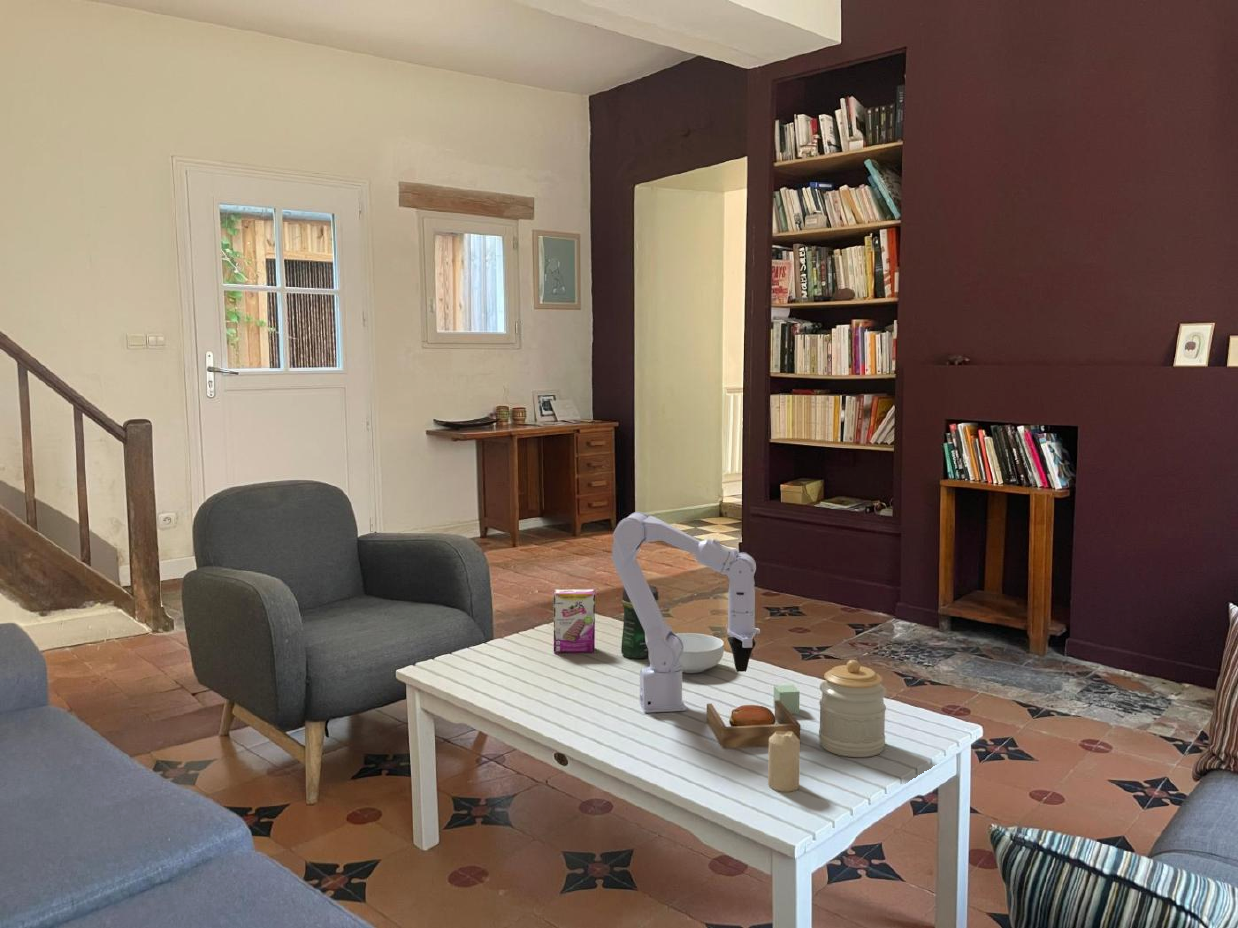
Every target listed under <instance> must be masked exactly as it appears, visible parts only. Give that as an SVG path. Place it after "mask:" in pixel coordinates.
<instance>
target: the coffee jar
mask: <svg viewBox="0 0 1238 928" xmlns="http://www.w3.org/2000/svg"><path fill="white" fill-rule="evenodd" d="M648 585H649V588H650V590H651V592H652V594H653V596H654V598H655V601H656V603H657V605H658V606H659V601H660V599H659V589H658V588H657V587H656V586H654V585H650V584H648ZM621 604H622V606H623V607H622V608H623V626H622V627H623V628H622V636H621V647H620V648H621V650H620V651H621V652H620V653H621V654H622V655H623V656H625V657H627V658H629V659H630V658H632V659H644V658H649V657H648V656H649V651H648V648H647V645H646V641H645V631H644V629H643V627H642V625H641V623H640V621H639V618H638V616H637V614H636V612H635V610H634V608H633V605H632V603H631V601H630V599H629V597H628V594H627V592H626V590H625V588H624V589H623V590H622V596H621Z"/></svg>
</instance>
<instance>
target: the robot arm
mask: <svg viewBox="0 0 1238 928" xmlns="http://www.w3.org/2000/svg"><path fill="white" fill-rule="evenodd" d="M612 536H613V537H612V538H613V543H612V553H611V561H612V564H613V567H614V568H615V570H616V573H617V575H618V577H619V580H620V581H621V584H622V586H623V588H624V589H625V590H626V592H627V594H628V597H629V599H630V601H631V603H632V605H633V608H634V610H635V612H636V614H637V616H638V618H639V621H640V623H641V625H642V627H643V629H644V631H645V641H646V645H647V648H648V651H649V656H648V657H647V658H648V662H649V666H648V667H643V668H640V671H639V703H640V705H641V708H642V710H643V712H644V713H645V714H647V713H666V712H686V711H687V710H688V709H687V706H686V705H685V703H684V702H683V672H682V664H681V662H680V660H679V657H680V656H681V654H682V652H683V642H682V640H681V639H680V638H679V637H678V636H677V635H676V634H677V633H675V631H674V630H673V628H672V626H671V625H670V624H669V623H668V622H666V620H665V618H664V616H663V613H662V612H661V610H660V608H659V604H658V605H657V603H656V601H655V598H654V596H653V594H652V592H651V590H650V588H649V585H650V584H648V581H647V579H646V576H645V575H644V573H643V570H642V568H641V566H640V564H639V562H638V560H637V557H638V554H639V552H640V549H641V546H642V544H643V543H644V542H645V543H646V544H647V543H652V542H659V541H661V542H664V543H666V544H668V545H671V546H673V547H676V548H678V549H681V550H682V551H685V552H688V553H690V554H692V555H693V556H694V557H695V559H696V560H695V561H696V562H697V563H698V564H700V565H702V566H705V567H706V568H709V569H711V570H713V571H715V572H717V573H719V574H721V575H726V576H727V578H728V580H729V587H728V608H727V609H728V611H727V612H728V613H727V615H728V620H727V621H728V622H727V623H728V625H727V626H728V627H727V629H726V630H727V631H726V632H727V634H728V635H729V636H730V637H727V638H726V639H727V641H728V643H729V646H730V649H731V652H732V658H733V663H734V667H735V670H736V673H737V672H738V673H739V672H740V673H741V672H743V673H744V672H747V669H748V667H749V662H750V657H751V654H752V652H753V649H754V648H755V647H756V641H755V639H754V637H755V635H757V634H760V633H761V630H760V628H758V627H756V625H755V622H756V621H755V620H756V619H755V617H756V615H755V614H756V608H755V607H756V589H755V584H756V581H755V578H754V577H755V573H756V571H757V564H756V560H755V559H754V557H753V556H751V555H750V554H748V553H747V552H740V550H738V549H736V548H735V549H731V548H729V547H727V546H725V545H723V544H721V543H720V540H719V539H717V538H713V539H710V538H706V539H704V540H700V539H697V538H695V537H694V536H691V535H690V534H687V533H686V532H684V531H682V530H680V529H678V528H676V527H675V526H673V525H671V524H669V523H668V522H665V521H663V520H661V519H659V518H657V517H655V516H653V515H648V514H647V513H645V512H642V511H635V512H632V513H631V514H629V515H628V516H627V517H624V518H623V519H622V520H620V521H619V522H618V523H617V526H616V527H615V530H614V531H613V533H612Z"/></svg>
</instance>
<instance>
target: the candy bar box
mask: <svg viewBox="0 0 1238 928" xmlns="http://www.w3.org/2000/svg"><path fill="white" fill-rule="evenodd" d="M595 618H596V590H595V589H593V588H592V589H591V588H589V589H554V591H553V653H554V654H556V653H557V654H563V653H565V654H569V653H595V651H596V650H595V649H596V648H595V644H596V640H595V639H596V633H595V631H596V629H595V628H596V619H595Z"/></svg>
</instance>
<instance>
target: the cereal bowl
mask: <svg viewBox="0 0 1238 928" xmlns="http://www.w3.org/2000/svg"><path fill="white" fill-rule="evenodd" d="M675 634H676V635H677V636H678V637H679V638H680V639H681V640H682V642H683V652H682V654H681V656H680V657H679V660H680V662H681V664H682V673H686V674H696V673H702V672H704V671H705V670H708V669H711V668H713V667H715V666H716V665H718V664H719V662H721V660H722V659H723V656H724V652H725V651H724V649H725V642H724V640H722V639H721V638H718V637H716V636H713V635H711V634H710V635H709V634H703V633H693V632H680V633H679V632H677V633H675Z"/></svg>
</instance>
